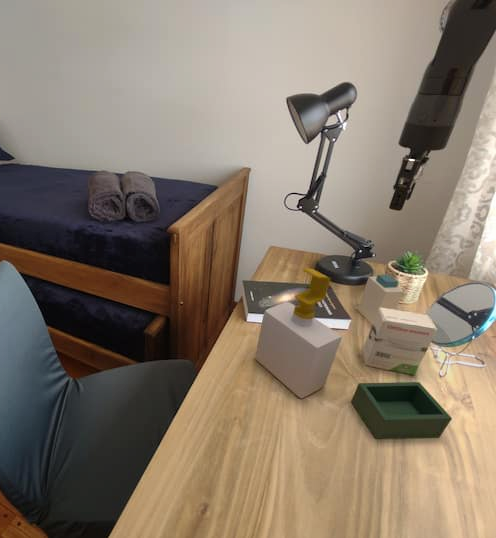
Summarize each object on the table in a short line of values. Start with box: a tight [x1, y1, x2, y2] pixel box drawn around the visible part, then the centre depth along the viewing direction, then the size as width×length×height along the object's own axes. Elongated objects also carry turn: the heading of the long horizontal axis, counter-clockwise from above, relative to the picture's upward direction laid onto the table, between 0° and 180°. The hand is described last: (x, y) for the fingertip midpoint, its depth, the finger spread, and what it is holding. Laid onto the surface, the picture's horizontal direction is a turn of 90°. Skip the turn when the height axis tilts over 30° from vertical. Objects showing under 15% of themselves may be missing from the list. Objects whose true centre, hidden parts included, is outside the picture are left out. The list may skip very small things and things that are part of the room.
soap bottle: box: [254, 268, 342, 399], centre depth 65 cm, size 12×7×23 cm, turn 27°
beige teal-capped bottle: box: [356, 273, 405, 326], centre depth 83 cm, size 4×6×11 cm, turn 1°
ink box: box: [361, 307, 438, 376], centre depth 70 cm, size 9×5×12 cm, turn 70°
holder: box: [350, 381, 453, 440], centre depth 60 cm, size 11×7×5 cm
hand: (399, 204), depth 75 cm, fingers open, 8 cm apart
